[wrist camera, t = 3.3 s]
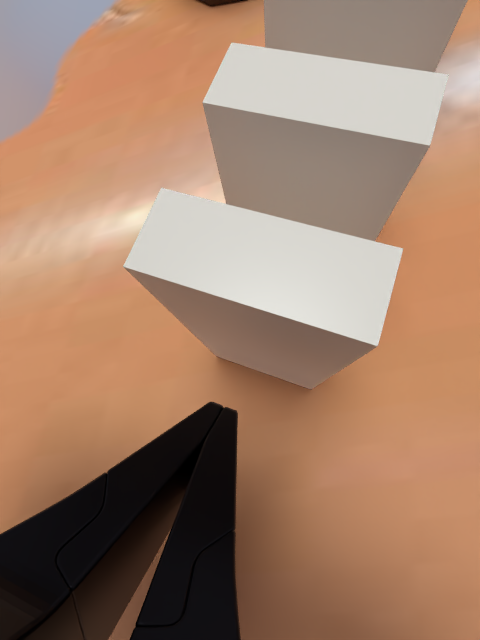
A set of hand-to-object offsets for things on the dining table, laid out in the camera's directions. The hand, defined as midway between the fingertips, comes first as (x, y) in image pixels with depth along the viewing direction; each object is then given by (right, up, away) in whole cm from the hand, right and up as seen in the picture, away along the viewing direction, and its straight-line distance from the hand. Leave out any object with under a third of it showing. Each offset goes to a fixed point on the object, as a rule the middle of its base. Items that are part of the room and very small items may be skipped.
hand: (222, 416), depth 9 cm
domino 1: (+2, +1, +8) cm, 8 cm away
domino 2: (+4, +5, +9) cm, 11 cm away
